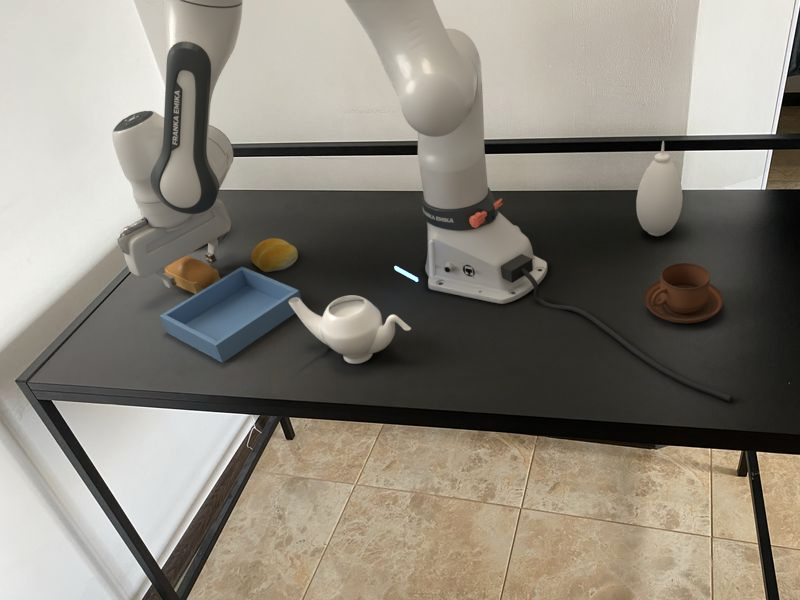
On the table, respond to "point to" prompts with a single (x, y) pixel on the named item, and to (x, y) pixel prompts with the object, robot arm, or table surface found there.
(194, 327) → the tray
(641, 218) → the white air blower bulb
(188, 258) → the loaf
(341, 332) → the teapot
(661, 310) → the cup and saucer
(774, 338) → the table surface
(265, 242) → the bread roll
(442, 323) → the table surface
